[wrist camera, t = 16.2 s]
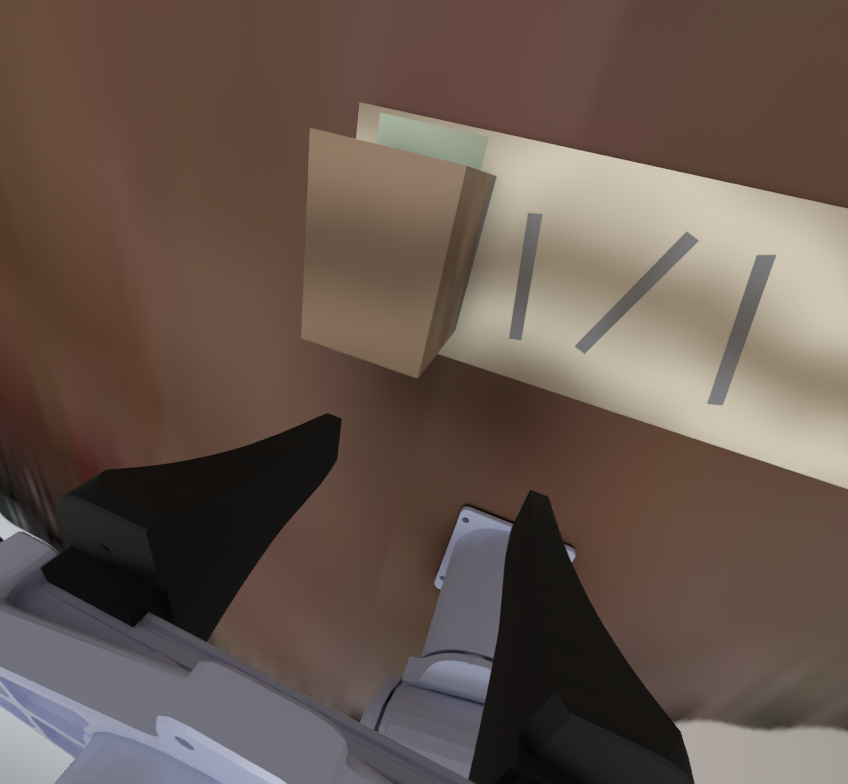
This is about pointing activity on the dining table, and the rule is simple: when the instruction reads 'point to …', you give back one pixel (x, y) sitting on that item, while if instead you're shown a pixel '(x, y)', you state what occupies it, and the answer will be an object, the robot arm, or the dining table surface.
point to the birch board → (653, 293)
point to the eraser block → (387, 249)
